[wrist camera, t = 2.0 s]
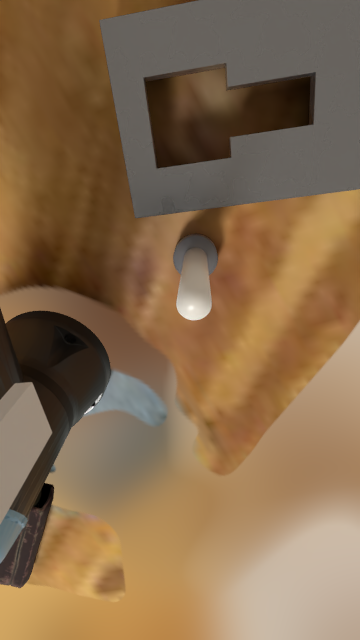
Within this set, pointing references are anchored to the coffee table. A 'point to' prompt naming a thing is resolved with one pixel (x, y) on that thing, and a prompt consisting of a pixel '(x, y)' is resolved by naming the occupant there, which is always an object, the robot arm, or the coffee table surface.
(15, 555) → the diary
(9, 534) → the robot arm
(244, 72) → the keyhole plate
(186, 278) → the peg
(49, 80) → the coffee table surface
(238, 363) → the coffee table surface
